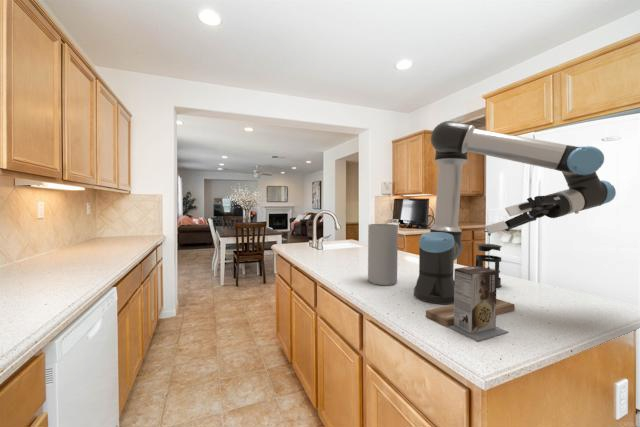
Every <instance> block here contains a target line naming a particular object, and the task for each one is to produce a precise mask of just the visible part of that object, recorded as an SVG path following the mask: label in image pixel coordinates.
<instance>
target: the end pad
mask: <svg viewBox="0 0 640 427" xmlns="http://www.w3.org/2000/svg"><path fill="white" fill-rule="evenodd" d="M447 328H448V329H451V330H453V331H454V332H457V333H459V334H461V335H463V336H465V337H467V338H469V339H471V340H473V341H476V342H481V341H484V340H488V339H492V338H495V337H499V336H502V335H506V334H508V333H509V331H507V330H506V329H503V328H500V327H497V326H496V328H494V329H490V330H486V331H481V332H477V333H473V334H471V333H469V332H467V331H465V330H463V329H461V328H459V327H457V326H455V325H452V326H448V327H447Z"/></svg>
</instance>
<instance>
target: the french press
mask: <svg viewBox="0 0 640 427" xmlns="http://www.w3.org/2000/svg"><path fill="white" fill-rule="evenodd" d="M483 233H487V236H488V243H477V244H476V246H477V250H478V251H482V252H487V253H488V254H476V256H475V266H480V267H484V262H487V267H486V268H488V269H491V270H496V271H497V277H496V289H500V288H502V284H501V282H502V278H501V277H500V272H501V270H500V262H502V257H501V256H496V255H492V254H491V255H490V252H491V251H492V250H493V251H494V250H495V251H499V252H500V251H501V248H503V246H502V245H501V244H500V245H499V244H493V243H491V241H490V240H491V239H490V238H491V237H490V236H491V235H492V233H491V234H489V233H488V232H487V230H484V231H483ZM490 263H494V268H491V267H490Z"/></svg>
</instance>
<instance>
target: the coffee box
mask: <svg viewBox="0 0 640 427" xmlns="http://www.w3.org/2000/svg"><path fill="white" fill-rule="evenodd" d="M453 271H454V273H453V279H454V303H453V305H454V325H455V326H457V327H459V328H461V329H463V330H465V331H467V332H469V333H471V334H473V333H477V332H481V331H486V330H490V329H494V328H496V327H497V315H496V299H497V288H496V277H497V271H496V270H491V269H488V268H487V267H484V266H483V267H480V266H476V265H474V266H473V265H472V266H466V267H465V266H464V267H457V268H454V269H453Z"/></svg>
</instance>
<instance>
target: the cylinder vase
mask: <svg viewBox="0 0 640 427" xmlns="http://www.w3.org/2000/svg"><path fill="white" fill-rule="evenodd" d="M398 227H399V225H398V224H393V223H370V224H369V223H368V228H367V229H368V235H367V236H368V238H367V243H368V244H367V254H368V256H367V281H368V282H369V283H370V284H374V285H376V286H377V285H378V286H391V285H395V284H396V283H398V247H399V246H398V243H399V242H398V241H399V240H398V238H399V236H398V235H399V228H398Z"/></svg>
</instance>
